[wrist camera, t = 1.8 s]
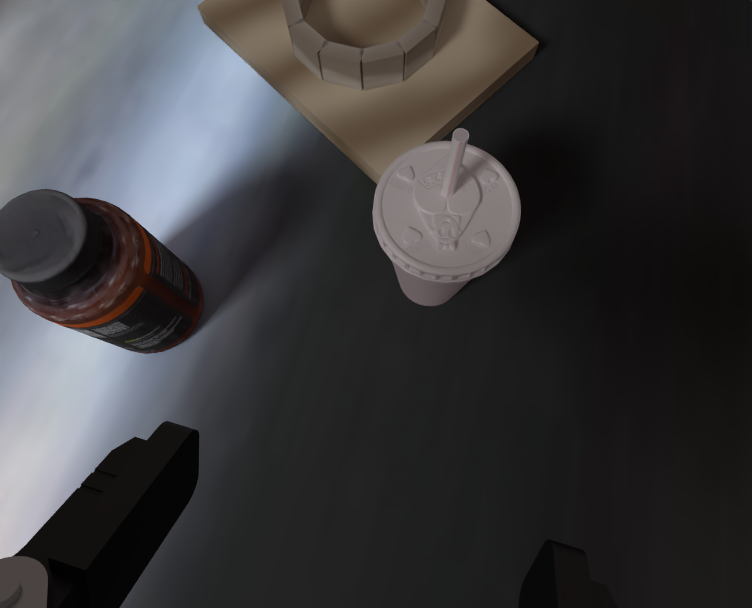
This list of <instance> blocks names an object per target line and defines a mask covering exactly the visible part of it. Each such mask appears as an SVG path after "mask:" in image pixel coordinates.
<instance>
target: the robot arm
mask: <svg viewBox="0 0 752 608" xmlns="http://www.w3.org/2000/svg"><path fill="white" fill-rule="evenodd" d="M198 473H199V432H198V431H197V430H195V429H191V428H188V427H185V426H182V425H178V424H175V423H172V422H169V421H166V422H163V423H162V424H161V425H160V426H159V427H158V428H157V429H156V430H155V432H154V433H153V434H152V435H151V436H150V437H149V439H148V440H143V439H140V438H137V437H134V438H132V439H131V440H129V441H127V442H126V443H124V444H122V445H120V446H119V447H117V448H115V449H114V450H112V451H111V452H110V453H109V454H108V455H107V456H106V458H105V459H104V460H103V461H102V462H101V463H100V464H99V465H98V466H97V467H96V469H95V471H94V473H91V474H90V475H89V476H88V477H87V478H86V479H85V481H84V482H83V483H82V484H81V487H80V488H77V489H76V490H75V492H74V493H73V494H72V495H71V496H70V497H69V498H68V499H67V500H66V501H65V502H64V504H63V505H62V506H61V507H60V508H59V509H58V510H57V511H56V512H55V513H54V515H53V516H52V517H51V518H50V519H49V520H48V521H47V522H46V523H45V524H44V526H43V527H42V528H41V529H40V530H39V531H38V532H37V533H36V534H35V535H34V536H33V538H32V539H31V540H30V541H29V542H28V543H27V544H26V545H25V546H24V547H23V548H22V549H21V550H20V551H19V552H18V553H16V554H15V555H14V556H12V557H7V558H3V559H0V608H119V607H120V606H121V604H122V603H123V601H124V600H125V598H126V597H127V595H128V594H129V592H130V591H131V589H132V588H133V586H134V585H135V583H136V582H137V580H138V579H139V577H140V576H141V574H142V572H143V571H144V569H145V568H146V566H147V565H148V563H149V562H150V560H151V559H152V557H153V556H154V554H155V553H156V551H157V550H158V548H159V547H160V545H161V544H162V542H163V541H164V539H165V537H166V536H167V534H168V533H169V531H170V530H171V528H172V527H173V525H174V524H175V522H176V521H177V519H178V518H179V516H180V515H181V513H182V512H183V510H184V509H185V507H186V506H187V504H188V502H189V501H190V499H191V497H192V495H193V493H194V490H195V487H196V484H197V480H198ZM519 608H618V607H617V605H616V603H615V601H614V600H613V598H612V596H611V594H610V592H609V590H608V588H607V586H606V585H604V584H601V583H598V582H595V581H591V580H590V574H589V567H588V561H587V556H586V553H585V552H584V550H582V549H579V548H575V547H572V546H569V545H566V544H562V543H559V542H556V541H553V540H549V539H548V540H546V541H545V542H544V544H543V546H542V548H541V549H540V551H539V553H538V555H537V557H536V559H535V560H534V562H533V564H532V566H531V568H530V570H529V571H528V573H527V575H526V577H525V579H524V581H523V584H522V587H521V592H520V597H519Z"/></svg>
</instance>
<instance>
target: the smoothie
mask: <svg viewBox="0 0 752 608" xmlns="http://www.w3.org/2000/svg"><path fill="white" fill-rule="evenodd" d="M468 138H469V133H468V131H467V130H465V129H463V128H459V129H456V130H455V131H454V133H453V137H452V141H437V142H430V143H426V144H422V145H419V146H416V147H414V148H412V149H410V150H408V151H406V152H405V153H403V154H401V155H400V156H399V157H398V158H396V159H395V160H394V161H393V162H392V163H391V164H390V165H389V166H388V167H387V169H386V170H385V172H384V173H383V175H382V176H381V178H380V180H379V183H378V185H377V188H376V191H375V196H374V206H373V211H372V213H373V224H374V230H375V233H376V235H377V238H378V241H379V243H380V246H381V247H382V249H383V250H384V251H385V252H386V254H387V255H388V256H389V258H390V259H391V260H392V262H393V265H394V268H395V271H396V274H397V277H398V280H399V283H400V286H401V288H402V290H403V292H404V293H405V295H406V296H407V297H408V298H409V299H411V300H412V301H413V302H415V303H417V304H420V305H424V306H436V305H440V304H443V303H445V302H447V301H448V300H449V299H451V298H452V297H453V296H454V295H455V294H456V293H457V292H458V291H459V290H460V289H461V288H462V287H463V286H464V285H465V284H466V283H468V282H469V281H470V280H471V279H473V278H475V277H478V276H481V275H483V274H484V273H486V272H487V271H489V270H490V269H491V268H493V267H494V266H496V265H497V264H498V263H499V262H500V261H501V259H502V258H503V257H504V256H505V255H506V253H507V252H508V251H509V249H510V247H511V244H512V242H513V240H514V237H515V235H516V232H517V230H518V227H519V223H520V216H521V204H520V198H519V193H518V190H517V187H516V185H515V183H514V181H513V179H512V177H511V175H510V174H509V173H508V171H507V170H506V169H505V167H504V166H503V165H502V164H501V163H500V162H499V161H498V160H496V159H495V158H494V157H493V156H491V155H490V154H488V153H487V152H485V151H483V150H481V149H479V148H477V147H475V146H472V145H469V144H467V142H468Z"/></svg>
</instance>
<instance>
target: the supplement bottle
mask: <svg viewBox="0 0 752 608" xmlns="http://www.w3.org/2000/svg"><path fill="white" fill-rule="evenodd" d="M0 273H1V274H3V275H4V276H5V277H7V278H9V279H11V282H12V286H13V288H14V290H15V292H16V294H17V296H18V298H19V299H20V300H21V301H22V302H23V304H24V305H25V306H26V307H28V308H29V309H30V310H31V311H32V312H34V313H35V314H37V315H39V316H41V317H43V318H45V319H47V320H49V321H52V322H54V323H57V324H59V325H62V326H64V327H67V328H70V329H73V330H76V331H78V332H81V333H84V334H86V335H89V336H91V337H94V338H97V339H100V340H103V341H105V342H108V343H111V344H113V345H116V346H119V347H121V348H124V349H127V350H130V351H134V352H139V353H144V354H149V353H157V352H163V351H165V350H168V349H171V348H172V347H174V346H176V345H178V344H179V343H180V342H182V341H183V340H184V339H186V338H187V337H188V336H189V334H190V333H191V332H192V331H193V329H194V328H195V326H196V324H197V322H198V320H199V318H200V315H201V312H202V308H203V294H202V289H201V286H200V283H199V281H198V279H197V277H196V276H195V274H194V273H193V272H192V271H191V270H190V269H189V267H188V266H187V265H186V264H185V263H184V262H182V261H181V260H180V259H179V258H178V257H177V256H176V255H174V254H173V253H172V252H171V251H170V250H168V249H167V248H166V247H165V246H164V245H163V244H162V243H161V242H159V241H158V240H157V239H156V238H155V237H154V236H153V235H152V234H150V233H149V232H148V231H147V230H146V229H145V228H144V227H142V226H141V225H140V224H139V223H138V222H137V221H135V220H134V219H133V218H132V217H131V216H130V215H129V214H127V213H126V212H124V211H123V210H122V209H120V208H119V207H117V206H115V205H113V204H110V203H108V202H106V201H102V200H99V199H93V198H72V197H71V196H69V195H67V194H65V193H62V192H59V191H56V190H49V189H41V190H34V191H30V192H27V193H24V194H22V195H20V196H18V197H16V198H14V199H12V200H11V201H10V202H8V203H7V204H6V205H5V206H4V207H3V208H2V209H1V210H0Z"/></svg>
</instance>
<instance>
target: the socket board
mask: <svg viewBox="0 0 752 608" xmlns="http://www.w3.org/2000/svg"><path fill="white" fill-rule="evenodd" d="M197 7H198V9H199V12H200V14H201V16H202V19H203V21H204V23H205V24H206V25H207V26H208V27H209V28H210V29H211V30H212V31H213V32H214V33H215V34H216V35H217V36H219V37H220V38H221V39H222V40H223V41H224V42H225V43H226V44H227V45H228V46H229V47H230V48H231V49H232V50H234V51H235V52H236V53H237V54H238V55H239V56H240V57H241V58H242V59H243V60H244V61H245V62H246V63H247V64H249V65H250V66H251V67H252V68H253V69H254V70H255V71H256V72H257V73H258V74H259V75H260V76H261V77H263V78H264V79H265V80H266V81H267V82H268V83H269V84H270V85H271V86H272V87H273V88H274V89H275V90H276V91H278V92H279V93H280V94H281V95H282V96H283V97H284V98H285V99H286V100H287V101H288V102H289V103H290V104H291V105H293V106H294V107H295V108H296V109H297V110H298V111H299V112H300V113H301V114H302V115H303V116H304V117H305V118H307V119H308V120H309V121H310V122H311V123H312V124H313V125H314V126H315V127H316V128H317V129H318V130H319V131H320V132H322V133H323V134H324V135H325V136H326V137H327V138H328V139H329V140H330V141H331V142H332V143H333V144H334V145H335V146H337V147H338V148H339V149H340V150H341V151H342V152H343V153H344V154H345V155H346V156H347V157H348V158H349V159H350V160H352V161H353V162H354V163H355V164H356V165H357V166H358V167H359V168H360V169H361V170H362V171H363V172H364V173H366V174H367V175H368V176H369V177H370V178H371V179H372V180H373V181H374V182H375V183H376V184H377V185H378V183H379V180H380V178H381V176H382V175H383V173H384V172H385V170H386V169H387V167H388V166H389V165H390V164H391V163H392V162H393V161H394V160H395V159H396V158H398V157H399V156H400V155H401V154H403V153H405V152H406V151H408V150H410V149H412V148H414V147H416V146H419V145H422V144H426V143H430V142H437V141H440V140H442V139H443V138H444V137H445V136H446V135H447V134H448V133H450V132H451V131H452V130H453V129H454V128H455V127H456V126H457V125H459V124H460V123H461V122H462V121H463V120H464V119H465V118H466V117H468V116H469V115H470V114H471V113H472V112H473V111H474V110H476V109H477V108H478V107H479V106H480V105H481V104H482V103H483V102H485V101H486V100H487V99H488V98H489V97H490V96H491V95H493V94H494V93H495V92H496V91H497V90H498V89H499V88H500V87H502V86H503V85H504V84H505V83H506V82H507V81H508V80H509V79H511V78H512V77H513V76H514V75H515V74H516V73H517V72H519V71H520V70H521V69H522V68H523V67H524V66H525V65H526V64H528V63H529V62H530V61H531V60H532V59H533V57H534V55H535V52H536V49H537V47H538V44H539V42H538V41H537V40H536V39H534V38H533V37H532V36H530V35H529V34H528V33H527V32H525V31H524V30H523V29H522V28H520V27H519V26H518V25H516V24H515V23H514V22H513V21H511V20H510V19H509V18H507V17H506V16H505V15H504V14H502V13H501V12H500V11H499V10H497V9H496V8H495V7H493V6H492V5H491V4H490V3H488V2H487V1H486V0H205V1H204V2H202V3H201V4H199V5H198V6H197Z"/></svg>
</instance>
